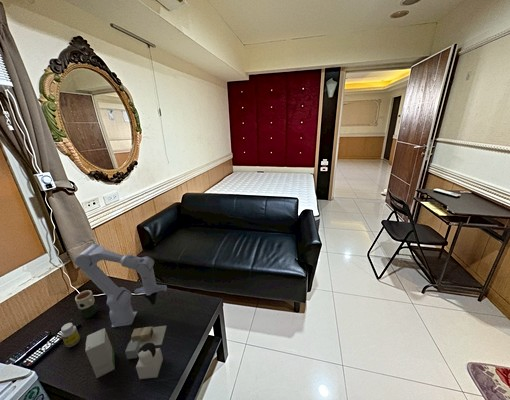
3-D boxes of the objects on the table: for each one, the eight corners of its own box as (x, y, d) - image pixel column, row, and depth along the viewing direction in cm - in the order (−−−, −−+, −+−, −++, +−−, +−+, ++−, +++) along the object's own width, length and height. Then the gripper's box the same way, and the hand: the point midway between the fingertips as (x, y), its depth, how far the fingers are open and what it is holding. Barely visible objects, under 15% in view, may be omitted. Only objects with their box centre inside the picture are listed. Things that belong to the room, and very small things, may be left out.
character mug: (76, 316, 113) (68, 297, 108) (90, 306, 119) (83, 287, 115) (90, 322, 109) (83, 302, 105) (103, 311, 116) (97, 292, 111)
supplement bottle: (64, 349, 96) (57, 333, 93) (67, 339, 101) (60, 324, 97) (78, 344, 98) (72, 328, 95) (81, 334, 103) (75, 319, 100)
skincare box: (114, 369, 88) (105, 342, 82) (95, 379, 84) (84, 352, 79) (114, 352, 94) (105, 326, 89) (96, 361, 91) (86, 335, 86)
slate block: (127, 359, 91) (124, 351, 90) (131, 350, 95) (128, 342, 93) (137, 358, 92) (134, 350, 90) (140, 349, 96) (138, 341, 94)
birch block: (151, 340, 99) (132, 342, 98) (153, 332, 103) (136, 334, 102) (149, 333, 98) (131, 336, 97) (152, 326, 102) (134, 328, 101)
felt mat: (126, 350, 95) (126, 349, 95) (135, 330, 105) (135, 329, 104) (161, 344, 97) (161, 344, 97) (166, 325, 107) (166, 325, 106)
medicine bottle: (146, 360, 91) (140, 340, 87) (163, 359, 91) (158, 339, 87) (139, 379, 84) (132, 358, 80) (157, 377, 85) (152, 356, 81)
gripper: (129, 288, 98) (135, 311, 103) (162, 285, 100) (166, 307, 105) (135, 278, 105) (140, 300, 109) (166, 275, 107) (170, 296, 111)
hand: (153, 302), depth 107 cm, fingers closed
